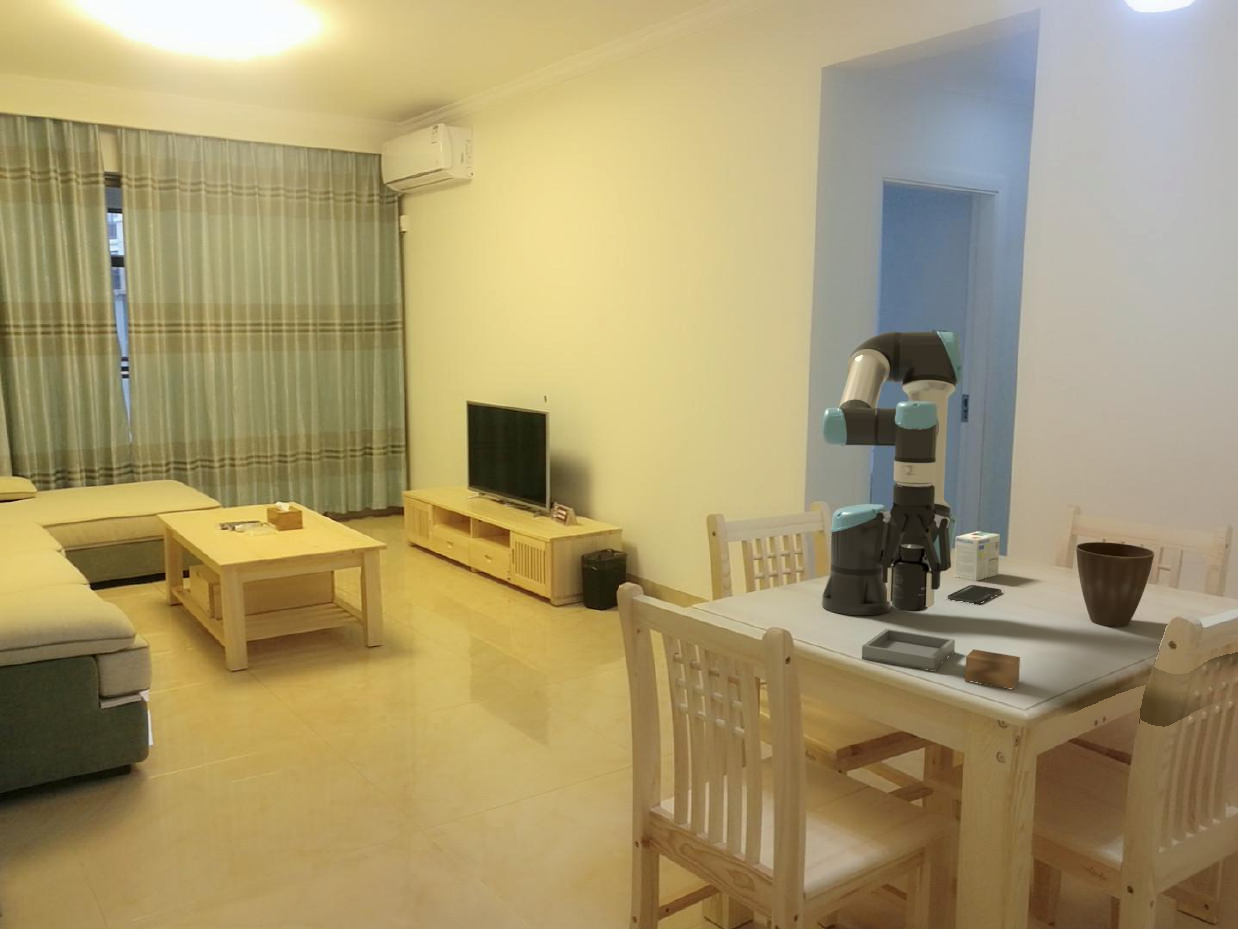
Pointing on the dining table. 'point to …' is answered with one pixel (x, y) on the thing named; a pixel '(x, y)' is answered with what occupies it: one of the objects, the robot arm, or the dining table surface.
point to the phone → (974, 594)
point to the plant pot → (1113, 580)
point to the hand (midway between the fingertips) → (910, 602)
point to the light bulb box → (977, 555)
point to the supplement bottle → (910, 579)
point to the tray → (908, 649)
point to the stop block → (992, 668)
